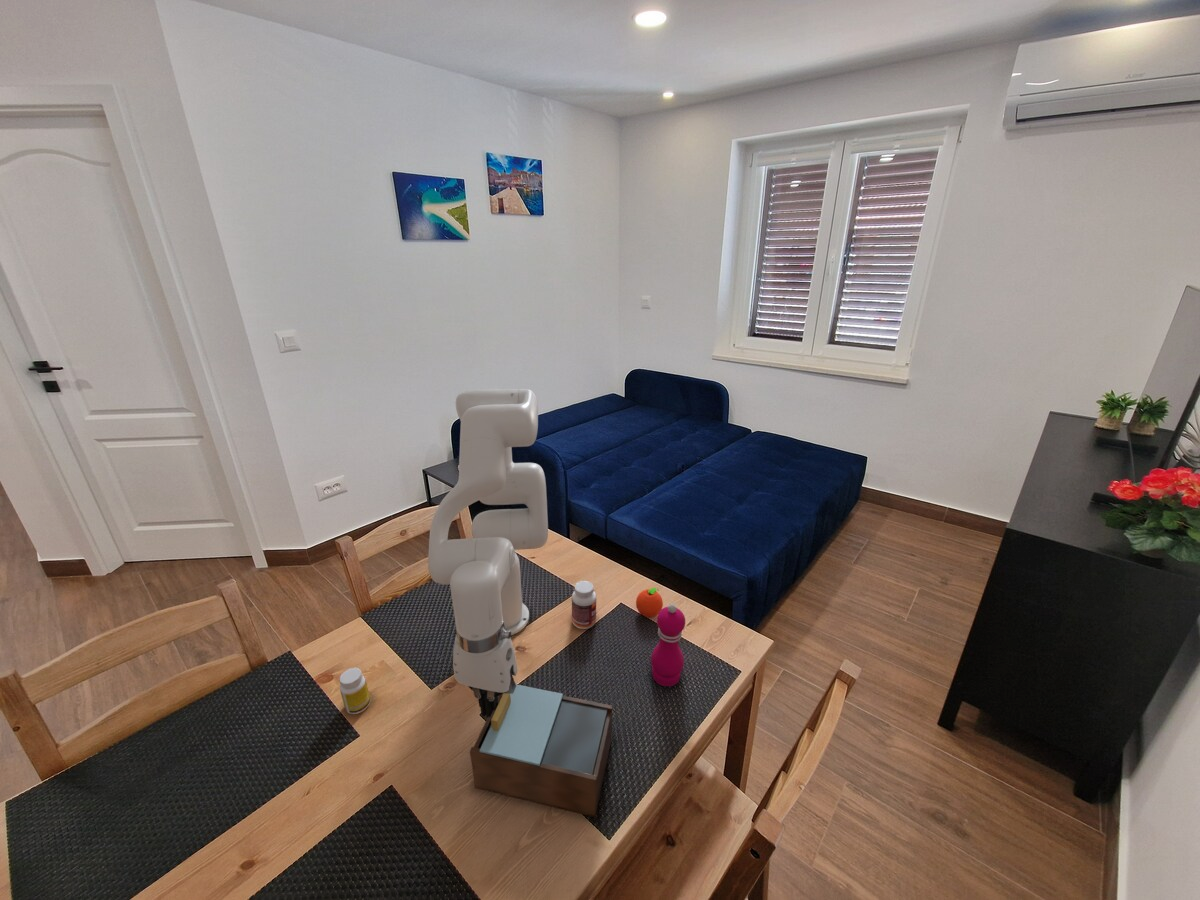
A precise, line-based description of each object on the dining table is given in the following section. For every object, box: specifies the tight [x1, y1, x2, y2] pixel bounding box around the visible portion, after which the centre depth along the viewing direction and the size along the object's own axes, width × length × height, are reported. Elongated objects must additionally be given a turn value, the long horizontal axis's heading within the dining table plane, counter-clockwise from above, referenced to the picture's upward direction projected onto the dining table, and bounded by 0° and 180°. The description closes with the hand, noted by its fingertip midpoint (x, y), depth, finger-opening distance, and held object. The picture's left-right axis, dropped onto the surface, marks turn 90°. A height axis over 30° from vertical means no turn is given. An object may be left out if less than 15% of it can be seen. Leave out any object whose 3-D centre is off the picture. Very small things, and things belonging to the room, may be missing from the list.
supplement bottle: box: [339, 667, 371, 715], centre depth 99 cm, size 5×5×8 cm
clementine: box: [635, 587, 664, 618], centre depth 126 cm, size 8×7×7 cm
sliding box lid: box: [480, 683, 564, 766], centre depth 86 cm, size 11×14×3 cm
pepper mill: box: [650, 603, 686, 687], centre depth 105 cm, size 7×7×20 cm
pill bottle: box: [571, 580, 597, 630], centre depth 121 cm, size 6×6×11 cm
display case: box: [469, 693, 613, 818], centre depth 88 cm, size 22×14×10 cm, turn 78°
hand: (489, 709), depth 87 cm, fingers closed
